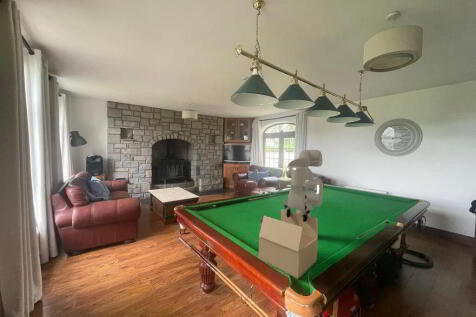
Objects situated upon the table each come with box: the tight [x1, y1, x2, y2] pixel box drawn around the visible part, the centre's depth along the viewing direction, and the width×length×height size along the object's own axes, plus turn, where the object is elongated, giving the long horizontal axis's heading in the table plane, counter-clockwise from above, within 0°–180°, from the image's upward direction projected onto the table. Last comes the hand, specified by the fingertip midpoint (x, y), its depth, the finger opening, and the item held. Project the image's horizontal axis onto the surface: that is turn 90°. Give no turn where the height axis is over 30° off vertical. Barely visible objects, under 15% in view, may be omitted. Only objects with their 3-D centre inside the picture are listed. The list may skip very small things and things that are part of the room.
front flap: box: [258, 215, 303, 252], centre depth 90 cm, size 11×22×1 cm
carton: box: [257, 233, 319, 280], centre depth 96 cm, size 22×22×12 cm
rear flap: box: [280, 209, 319, 238], centre depth 104 cm, size 11×22×1 cm
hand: (296, 219), depth 102 cm, fingers open, 9 cm apart
